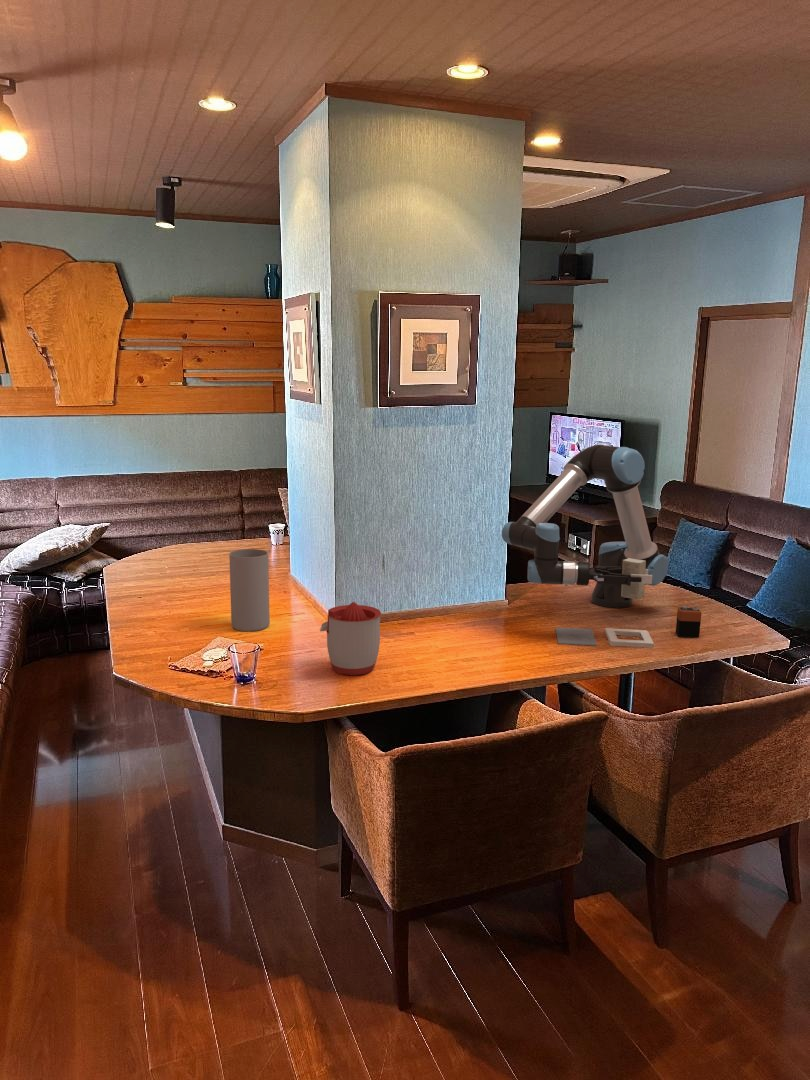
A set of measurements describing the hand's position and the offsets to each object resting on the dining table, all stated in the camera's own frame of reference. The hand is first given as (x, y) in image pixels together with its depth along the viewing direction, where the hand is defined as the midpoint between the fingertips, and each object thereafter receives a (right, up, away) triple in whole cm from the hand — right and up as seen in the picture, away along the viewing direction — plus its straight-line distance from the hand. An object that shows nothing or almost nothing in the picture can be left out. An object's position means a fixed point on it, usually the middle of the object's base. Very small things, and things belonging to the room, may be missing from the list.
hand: (649, 576), depth 257 cm
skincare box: (-5, -7, +2) cm, 9 cm away
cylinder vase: (-129, -17, +13) cm, 131 cm away
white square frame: (-5, -21, +5) cm, 22 cm away
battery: (+16, -20, +11) cm, 28 cm away
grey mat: (-22, -20, +7) cm, 31 cm away
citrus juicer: (-93, -26, -24) cm, 100 cm away
